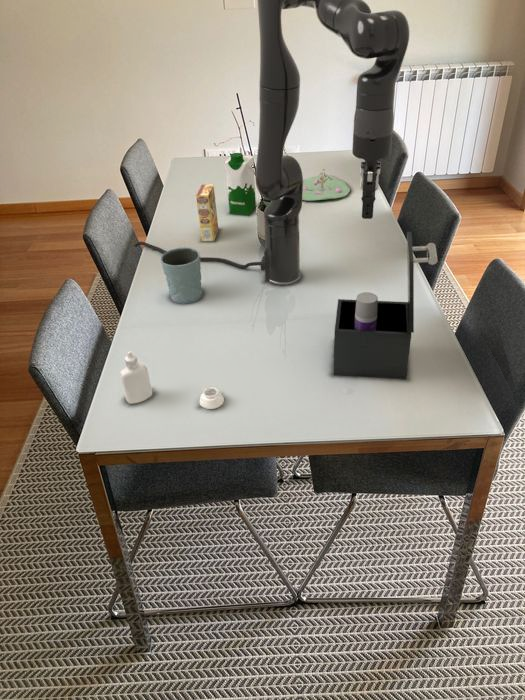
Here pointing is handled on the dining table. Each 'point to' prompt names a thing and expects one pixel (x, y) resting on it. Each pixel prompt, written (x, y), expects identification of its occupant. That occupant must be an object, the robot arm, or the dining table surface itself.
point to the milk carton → (240, 184)
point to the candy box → (207, 212)
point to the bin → (372, 342)
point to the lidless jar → (211, 398)
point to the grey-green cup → (183, 274)
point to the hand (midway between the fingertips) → (367, 209)
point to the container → (366, 311)
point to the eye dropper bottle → (135, 380)
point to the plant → (324, 188)
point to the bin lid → (410, 272)
